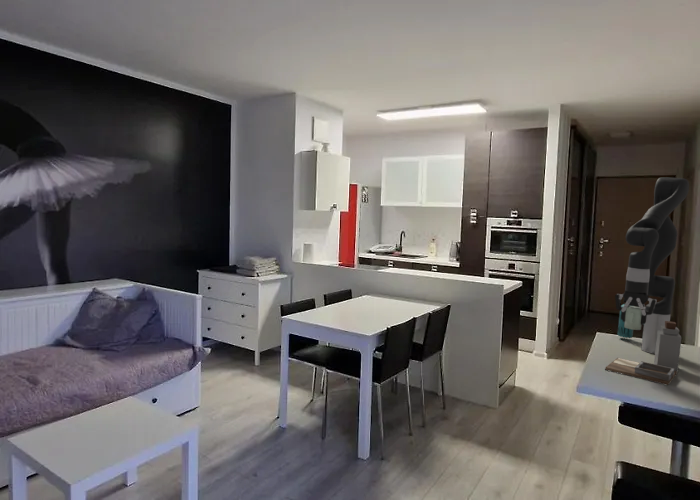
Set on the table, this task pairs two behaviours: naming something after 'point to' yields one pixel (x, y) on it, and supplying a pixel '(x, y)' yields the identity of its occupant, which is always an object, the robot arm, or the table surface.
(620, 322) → the beverage bottle
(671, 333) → the perfume bottle
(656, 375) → the wooden panel with label
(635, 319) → the pale green rounded piece
